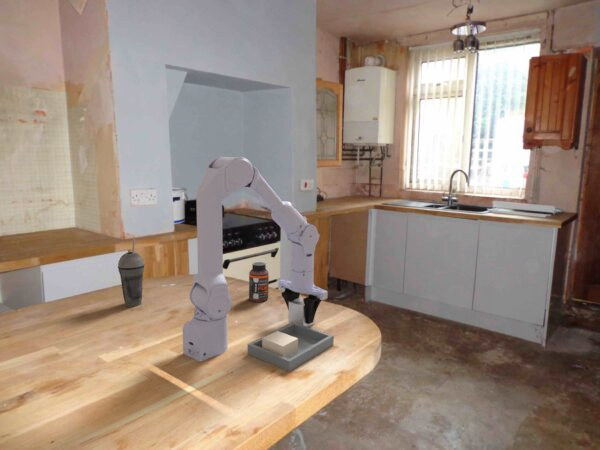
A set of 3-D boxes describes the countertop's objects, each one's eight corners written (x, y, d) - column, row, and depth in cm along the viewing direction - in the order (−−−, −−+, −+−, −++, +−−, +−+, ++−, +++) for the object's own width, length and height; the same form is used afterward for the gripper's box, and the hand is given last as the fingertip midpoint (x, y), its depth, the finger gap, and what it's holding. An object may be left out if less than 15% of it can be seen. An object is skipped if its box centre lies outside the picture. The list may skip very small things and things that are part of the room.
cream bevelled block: (283, 364, 89) (283, 346, 89) (262, 355, 93) (262, 338, 92) (297, 355, 93) (298, 338, 92) (277, 347, 97) (277, 330, 96)
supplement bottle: (259, 304, 126) (259, 267, 124) (244, 299, 130) (244, 263, 128) (272, 298, 131) (272, 263, 129) (258, 294, 134) (258, 260, 133)
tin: (303, 332, 107) (303, 306, 106) (288, 327, 110) (288, 301, 109) (314, 326, 111) (314, 301, 109) (299, 321, 113) (300, 296, 112)
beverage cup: (119, 301, 126) (115, 235, 123) (145, 298, 130) (142, 234, 126) (120, 309, 120) (116, 240, 117) (147, 306, 123) (144, 238, 120)
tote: (289, 375, 86) (289, 361, 86) (247, 357, 94) (247, 344, 93) (333, 347, 99) (333, 335, 98) (293, 333, 106) (293, 322, 106)
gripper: (335, 271, 106) (333, 322, 108) (290, 261, 115) (289, 309, 117) (318, 277, 101) (317, 331, 103) (273, 266, 110) (272, 316, 112)
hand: (301, 320), depth 110 cm, fingers closed on tin, 5 cm apart
